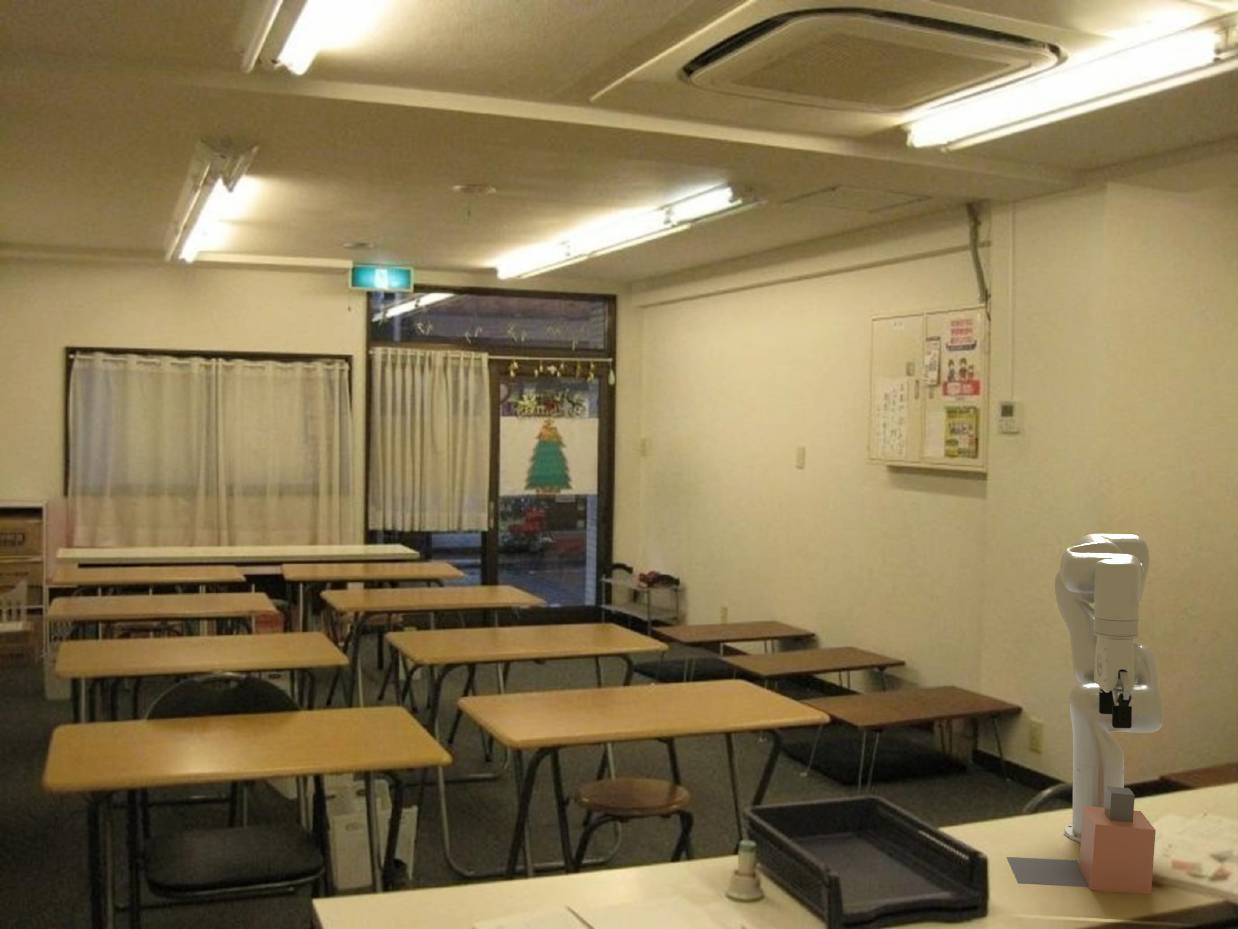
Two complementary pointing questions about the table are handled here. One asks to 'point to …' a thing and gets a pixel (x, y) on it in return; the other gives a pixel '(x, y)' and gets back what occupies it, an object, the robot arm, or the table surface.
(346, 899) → the table surface
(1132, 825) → the cover
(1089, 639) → the robot arm
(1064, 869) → the mat
